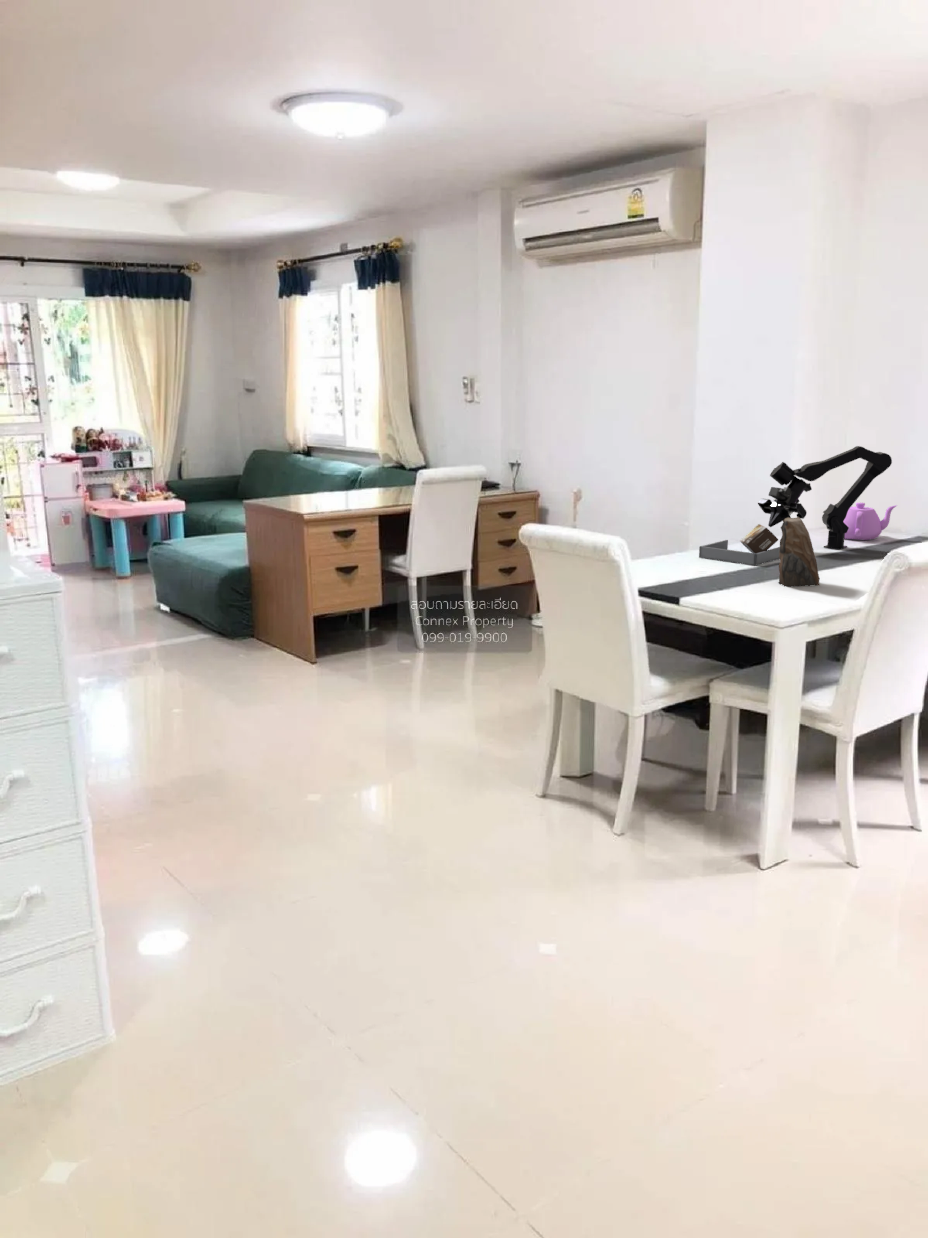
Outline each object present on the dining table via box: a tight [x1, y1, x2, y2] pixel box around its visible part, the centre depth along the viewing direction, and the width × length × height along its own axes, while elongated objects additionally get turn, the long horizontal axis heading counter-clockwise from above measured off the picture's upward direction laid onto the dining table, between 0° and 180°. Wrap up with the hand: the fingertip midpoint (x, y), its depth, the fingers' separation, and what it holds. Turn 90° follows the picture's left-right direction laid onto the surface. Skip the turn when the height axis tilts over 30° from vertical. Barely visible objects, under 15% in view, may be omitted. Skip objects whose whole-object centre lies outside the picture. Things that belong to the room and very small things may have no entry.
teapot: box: [843, 502, 898, 541], centre depth 379 cm, size 22×22×14 cm
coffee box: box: [739, 523, 779, 554], centre depth 345 cm, size 9×6×16 cm
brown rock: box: [777, 516, 820, 588], centre depth 304 cm, size 13×13×20 cm
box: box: [698, 539, 780, 567], centre depth 344 cm, size 18×22×4 cm
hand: (769, 526), depth 354 cm, fingers closed
